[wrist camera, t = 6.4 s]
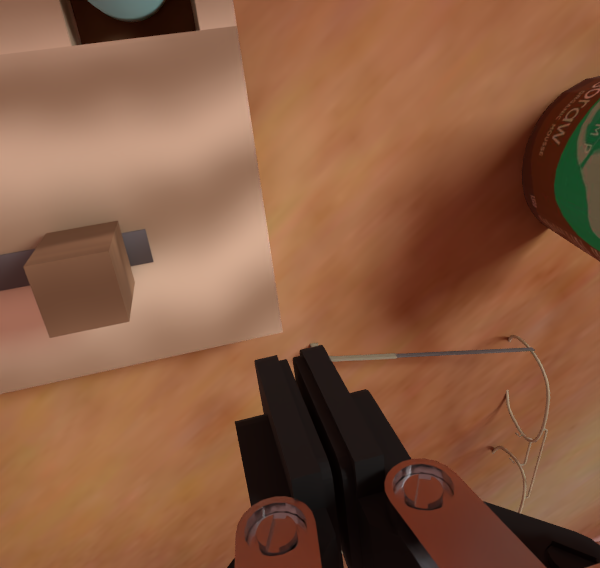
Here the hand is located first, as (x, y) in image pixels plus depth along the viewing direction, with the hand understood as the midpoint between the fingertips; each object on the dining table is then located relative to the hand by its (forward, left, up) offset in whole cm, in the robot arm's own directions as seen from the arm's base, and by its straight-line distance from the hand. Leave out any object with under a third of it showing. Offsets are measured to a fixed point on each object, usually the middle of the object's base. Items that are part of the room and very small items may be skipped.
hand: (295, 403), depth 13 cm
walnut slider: (0, -6, -14) cm, 15 cm away
